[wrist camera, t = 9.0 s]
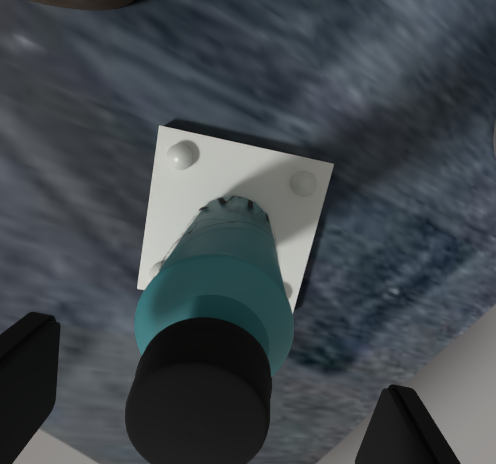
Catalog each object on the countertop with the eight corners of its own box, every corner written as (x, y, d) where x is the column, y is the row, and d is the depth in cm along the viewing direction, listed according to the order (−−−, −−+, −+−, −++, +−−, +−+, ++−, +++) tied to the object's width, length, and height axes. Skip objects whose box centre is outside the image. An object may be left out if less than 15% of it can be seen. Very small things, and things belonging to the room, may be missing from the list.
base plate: (330, 163, 27) (336, 164, 26) (289, 312, 31) (292, 322, 29) (163, 126, 27) (157, 125, 25) (141, 283, 30) (134, 291, 29)
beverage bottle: (281, 201, 27) (365, 349, 8) (259, 274, 29) (280, 545, 9) (204, 180, 27) (88, 279, 7) (185, 255, 28) (51, 497, 9)
